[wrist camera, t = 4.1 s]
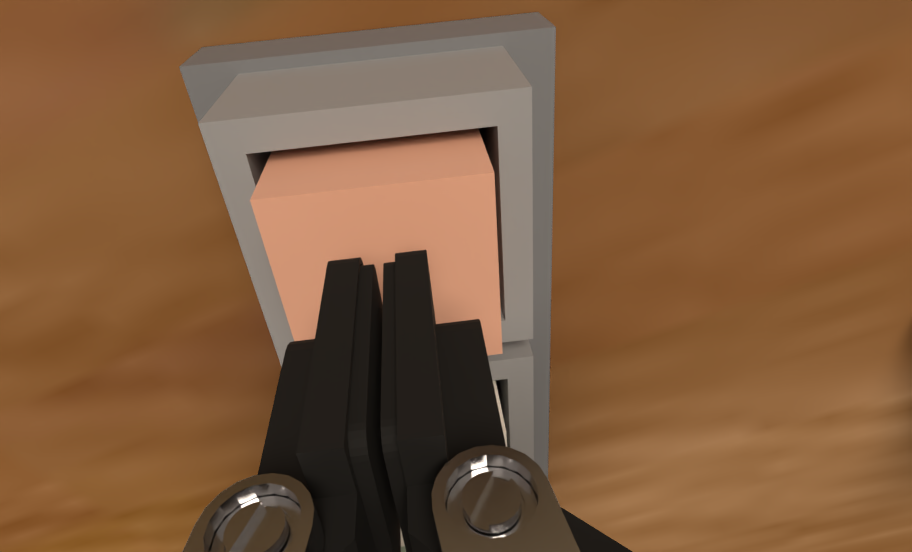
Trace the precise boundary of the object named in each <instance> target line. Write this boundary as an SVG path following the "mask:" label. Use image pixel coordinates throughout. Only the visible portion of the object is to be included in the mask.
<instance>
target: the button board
mask: <svg viewBox="0 0 912 552" xmlns="http://www.w3.org/2000/svg"><path fill="white" fill-rule="evenodd" d="M555 37H556V27H555V26H554V25H553V24H552V23H550V22H549V21H548V20H547V19H546V18H545V17H543V16H542V15H541V14H540V13H539V12H534V13H524V14H515V15H505V16H496V17H486V18H477V19H467V20H458V21H448V22H439V23H429V24H420V25H410V26H400V27H391V28H381V29H372V30H362V31H353V32H343V33H334V34H324V35H315V36H305V37H296V38H286V39H277V40H267V41H258V42H248V43H239V44H229V45H220V46H210V47H202V48H201V49H200V50H198V51H197V52H196V53H195V54H194V55H192V56H191V57H190V58H189V59H188V60H187V61H185V62H184V63H183V64H182V65H181V66H180V67H179V68H180V71H181V74H182V76H183V79H184V82H185V85H186V88H187V91H188V94H189V97H190V100H191V103H192V106H193V109H194V112H195V114H196V117H197V120H198V125H199V127H200V130H201V133H202V136H203V139H204V142H205V145H206V148H207V151H208V154H209V157H210V160H211V162H212V165H213V168H214V171H215V174H216V177H217V180H218V183H219V186H220V189H221V192H222V195H223V197H224V200H225V203H226V206H227V209H228V212H229V215H230V218H231V221H232V224H233V227H234V230H235V232H236V235H237V238H238V241H239V244H240V247H241V250H242V253H243V256H244V259H245V262H246V265H247V267H248V270H249V273H250V276H251V279H252V282H253V285H254V288H255V291H256V294H257V297H258V300H259V302H260V305H261V308H262V311H263V314H264V317H265V320H266V323H267V326H268V329H269V332H270V335H271V337H272V340H273V343H274V346H275V349H276V352H277V355H278V358H279V361H280V364H281V367H282V364H283V359H284V355H285V351H286V348H287V345H288V344H289V343H290V342H293V341H294V339H293V336H292V332H291V329H290V326H289V323H288V320H287V317H286V313H285V310H284V307H283V304H282V301H281V297H280V294H279V291H278V288H277V285H276V282H275V278H274V275H273V272H272V269H271V266H270V263H269V259H268V256H267V253H266V250H265V247H264V243H263V240H262V237H261V234H260V231H259V228H258V224H257V221H256V218H255V215H254V212H253V209H252V205H251V202H250V199H251V196H252V194H253V192H254V190H255V188H256V185H257V183H258V181H259V179H260V176H261V174H262V172H263V170H264V167H265V165H266V163H267V161H268V159H269V156H270V154H271V152H272V151H277V150H286V149H295V148H304V147H313V146H322V145H331V144H340V143H349V142H358V141H367V140H376V139H385V138H394V137H403V136H412V135H421V134H430V133H439V132H448V131H456V130H465V129H474V128H478V129H479V132H480V134H481V137H482V140H483V143H484V145H485V148H486V151H487V153H488V156H489V159H490V162H491V164H492V167H493V170H494V175H495V197H496V219H497V241H498V263H499V285H500V307H501V329H502V351H503V354H496V355H488V361H489V366H490V370H491V375H492V380H493V381H494V380H495V381H496V385H497V390H498V395H499V399H500V404H501V409H502V414H503V418H504V423H505V428H506V436H507V447H510V448H513V449H515V450H517V451H520V452H522V453H524V454H526V455H527V456H528V457H530V458H531V459H532V460H533V461H535V462H536V463H537V464H538V465H539V466H540V468H541V469H542V471H543V472H544V474H545V475H546V477H547V478H548V443H549V385H550V327H551V269H552V211H553V153H554V95H555Z"/></svg>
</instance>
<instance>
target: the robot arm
mask: <svg viewBox="0 0 912 552" xmlns="http://www.w3.org/2000/svg"><path fill="white" fill-rule="evenodd" d="M400 528H401V529H400ZM401 532H402V536H403V540H404V544H405V549H406V552H632V551H631V550H629V549H627V548H626V547H624V546H622V545H621V544H619V543H618V542H616V541H614V540H613V539H611V538H610V537H608V536H606V535H605V534H603V533H602V532H600V531H598V530H597V529H595V528H593V527H592V526H590V525H589V524H587V523H585V522H584V521H582V520H581V519H579V518H577V517H576V516H574V515H573V514H571V513H569V512H568V511H566V510H565V509H563V508H561V507H560V505H559V503H558V501H557V498H556V496H555V494H554V492H553V489H552V487H551V485H550V483H549V481H548V478H547V477H546V475H545V474H544V472H543V471H542V469H541V468H540V466H539V465H538V464H537V463H536V462H535V461H533V460H532V459H531V458H530V457H528V456H527V455H526V454H524V453H522V452H520V451H517V450H515V449H513V448H510V447H506V444H505V439H504V434H503V429H502V424H501V419H500V414H499V410H498V405H497V400H496V395H495V390H494V385H493V380H492V375H491V370H490V366H489V361H488V356H487V351H486V346H485V341H484V336H483V331H482V327H481V322H480V320H479V319H474V320H466V321H457V322H449V323H441V324H436V320H435V312H434V304H433V296H432V289H431V281H430V273H429V265H428V258H427V251H426V250H418V251H410V252H401V253H395V262H388V263H384V264H383V304H382V299H381V294H380V289H379V283H378V278H377V273H376V268H375V265H374V264H371V265H363V261H362V259H361V257H359V258H350V259H342V260H333V261H328V263H327V268H326V274H325V280H324V286H323V292H322V298H321V305H320V311H319V317H318V323H317V329H316V335H315V339H309V340H301V341H293V342H290V343H289V344H288V345H287V348H286V351H285V355H284V359H283V364H282V368H281V373H280V377H279V382H278V386H277V391H276V395H275V400H274V404H273V409H272V413H271V418H270V422H269V427H268V431H267V436H266V440H265V444H264V449H263V453H262V458H261V462H260V467H259V471H258V475H254V476H252V477H249V478H247V479H244V480H241V481H239V482H236V483H235V484H233V485H232V486H230V487H229V488H227V489H226V490H224V491H223V492H221V493H220V494H219V495H218V496H217V497H216V498H215V499H214V500H213V501H212V502H211V503H210V504H209V505H208V506H207V507H206V508H205V509H204V511H203V513H202V514H201V516H200V517H199V519H198V521H197V522H196V524H195V526H194V528H193V530H192V532H191V534H190V537H189V539H188V541H187V543H186V545H185V547H184V550H183V552H401Z"/></svg>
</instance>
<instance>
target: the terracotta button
mask: <svg viewBox="0 0 912 552" xmlns="http://www.w3.org/2000/svg"><path fill="white" fill-rule="evenodd" d="M250 202H251V205H252V209H253V212H254V215H255V218H256V221H257V224H258V228H259V231H260V234H261V237H262V240H263V243H264V247H265V250H266V253H267V256H268V259H269V263H270V266H271V269H272V272H273V275H274V278H275V282H276V285H277V288H278V291H279V294H280V297H281V301H282V304H283V307H284V310H285V313H286V317H287V320H288V323H289V326H290V329H291V332H292V336H293V339H294V341H301V340H309V339H315V335H316V329H317V323H318V317H319V311H320V305H321V298H322V292H323V286H324V280H325V274H326V268H327V263H328V261H333V260H342V259H350V258H359V257H361V259H362V261H363V265H371V264H374V265H375V268H376V273H377V278H378V283H379V289H380V294H381V299H382V304H383V264H384V263H388V262H395V253H401V252H410V251H418V250H426V251H427V258H428V265H429V273H430V281H431V289H432V296H433V304H434V312H435V320H436V324H441V323H449V322H457V321H466V320H474V319H479V320H480V322H481V327H482V331H483V336H484V341H485V346H486V351H487V356H488V355H496V354H503V351H502V329H501V307H500V285H499V263H498V241H497V219H496V197H495V175H494V170H493V167H492V164H491V162H490V159H489V156H488V153H487V151H486V148H485V145H484V143H483V140H482V137H481V134H480V132H479V129H478V128H474V129H465V130H456V131H448V132H439V133H430V134H421V135H412V136H403V137H394V138H385V139H376V140H367V141H358V142H349V143H340V144H331V145H322V146H313V147H304V148H295V149H286V150H277V151H272V152H271V154H270V156H269V159H268V161H267V163H266V165H265V167H264V170H263V172H262V174H261V176H260V179H259V181H258V183H257V185H256V188H255V190H254V192H253V194H252V196H251V199H250Z"/></svg>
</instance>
